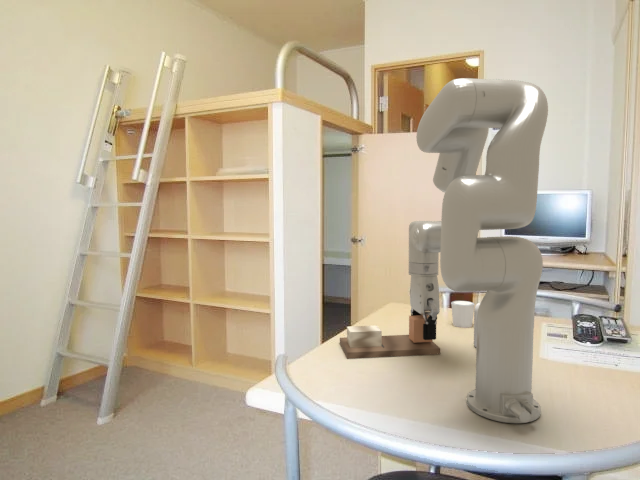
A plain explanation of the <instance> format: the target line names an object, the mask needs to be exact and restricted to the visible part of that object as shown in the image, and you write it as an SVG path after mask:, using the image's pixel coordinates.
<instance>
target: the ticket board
mask: <svg viewBox="0 0 640 480" xmlns="http://www.w3.org/2000/svg"><path fill="white" fill-rule="evenodd" d="M382 332H383V331H382V330H381V329H380V327H379V326H378V325H377V324H376V325H374V324H373V325H356V326H353V325H352V326H346V337H345V336H344V337H339V344H340V346H341V349H342V350H343V353H344V355H345V358H346V359H347V360H348V359H369V358H370V359H371V358H387V357H390V358H391V357H408V356H409V357H410V356H412V357H413V356H427V355H428V356H431V355H441V347H440V346H438V344H436V343H435V342H434V341H433V342H417V343H414V342H413V341H412V340H411V339H410V338H409V334H395V335H393V334H391V335H390V334H389V335H382Z"/></svg>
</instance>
